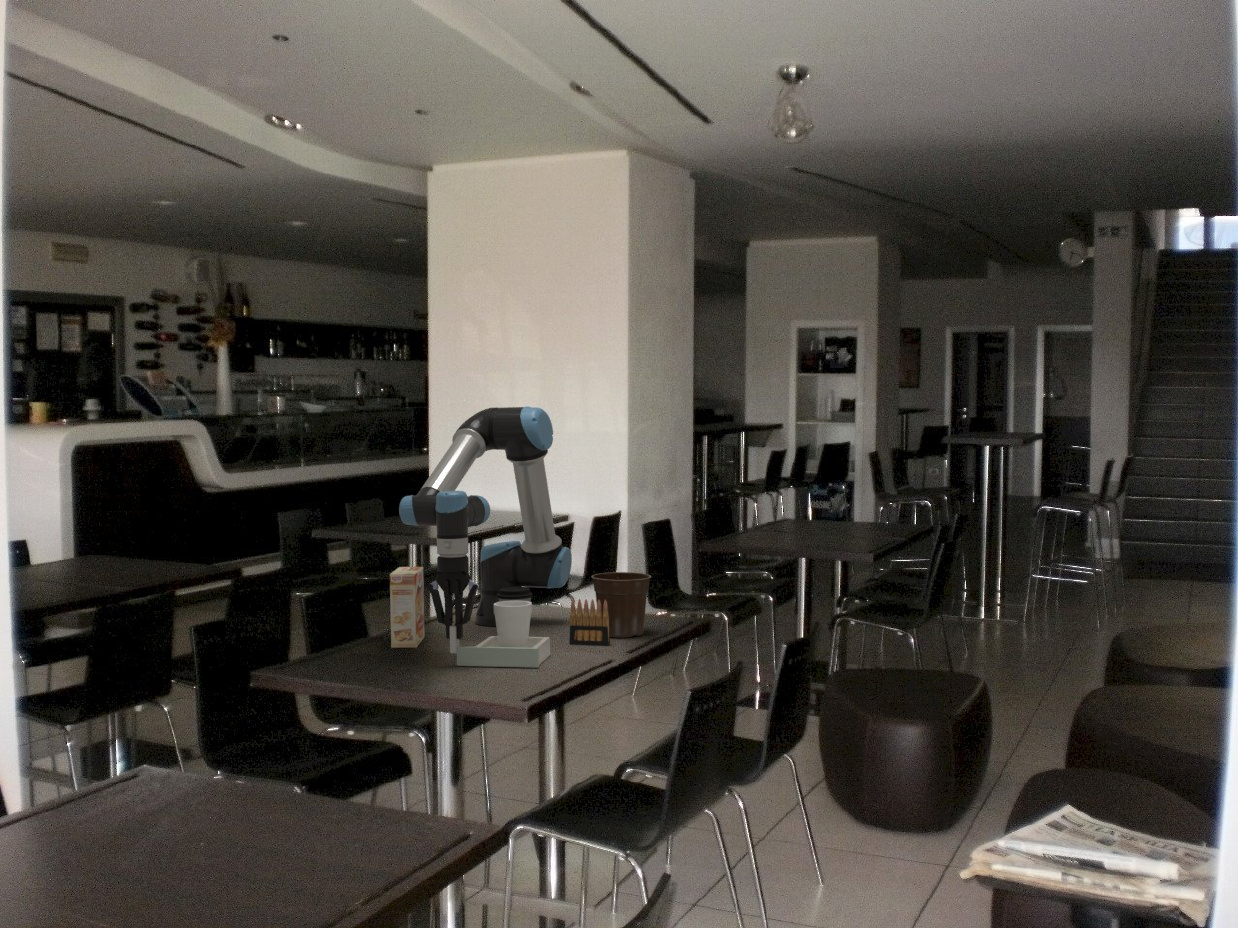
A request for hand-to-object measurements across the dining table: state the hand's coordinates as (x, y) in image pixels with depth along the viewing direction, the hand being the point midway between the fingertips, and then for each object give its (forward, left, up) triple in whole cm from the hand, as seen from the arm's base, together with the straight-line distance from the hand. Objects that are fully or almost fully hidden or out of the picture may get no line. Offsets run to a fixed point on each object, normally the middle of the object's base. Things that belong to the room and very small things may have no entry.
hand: (454, 651), depth 299 cm
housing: (-7, +12, -3) cm, 15 cm away
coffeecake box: (-27, -22, -4) cm, 35 cm away
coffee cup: (-25, +8, -4) cm, 27 cm away
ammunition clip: (-29, +27, -4) cm, 40 cm away
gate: (0, +11, -3) cm, 11 cm away
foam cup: (-7, +13, -2) cm, 15 cm away
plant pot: (-44, +33, -4) cm, 56 cm away
